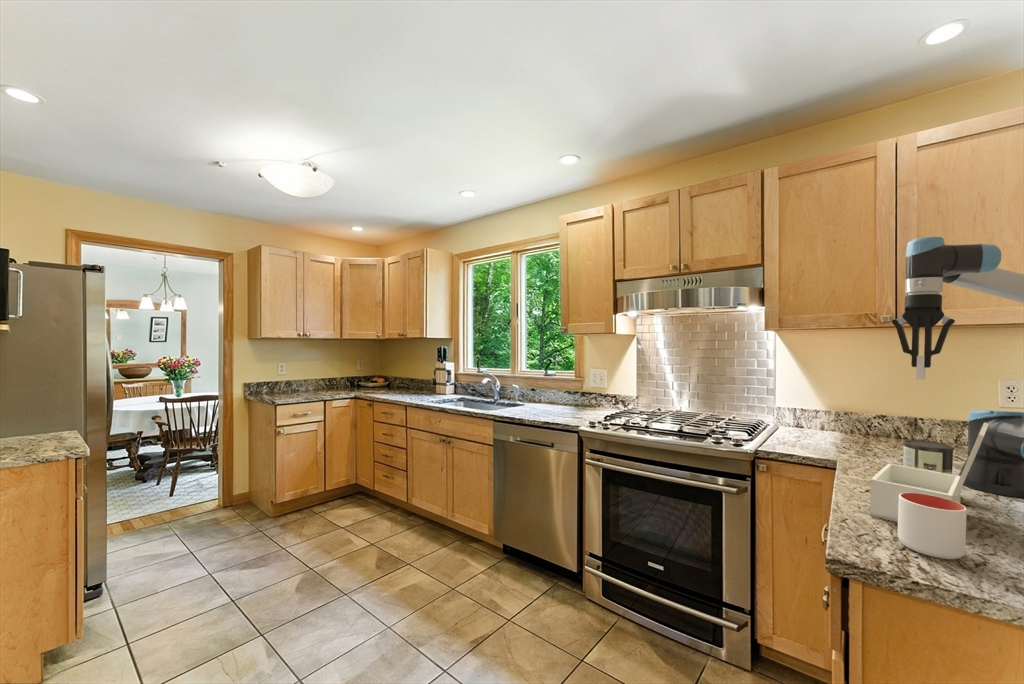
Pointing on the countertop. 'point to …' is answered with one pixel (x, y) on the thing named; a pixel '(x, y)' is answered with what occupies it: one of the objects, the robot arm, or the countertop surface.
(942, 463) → the coffee can
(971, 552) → the countertop surface
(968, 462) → the lid
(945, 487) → the box
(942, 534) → the cup
